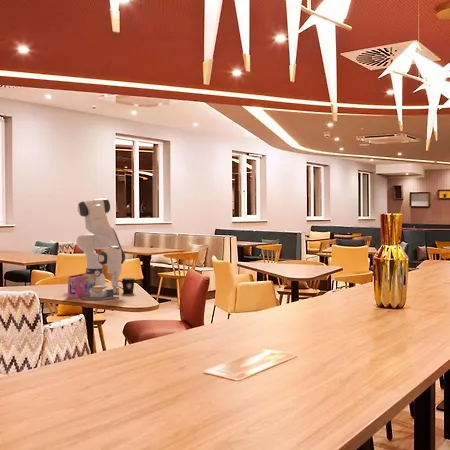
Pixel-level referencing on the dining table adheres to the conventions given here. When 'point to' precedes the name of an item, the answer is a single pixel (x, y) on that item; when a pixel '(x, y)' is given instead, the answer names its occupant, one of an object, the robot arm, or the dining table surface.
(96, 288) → the cap housing
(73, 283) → the gum box
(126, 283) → the coffee mug
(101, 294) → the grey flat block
